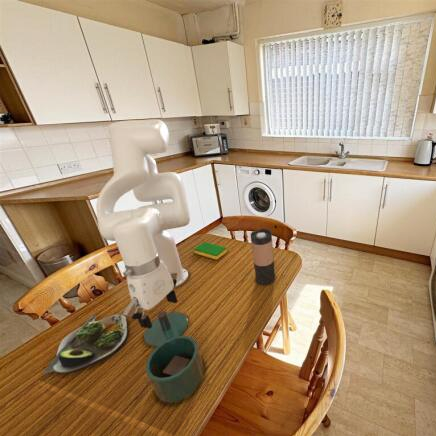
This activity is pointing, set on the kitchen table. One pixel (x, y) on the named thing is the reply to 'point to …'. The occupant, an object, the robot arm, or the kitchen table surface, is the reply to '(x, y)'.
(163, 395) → the pot
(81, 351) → the salad plate
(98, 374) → the kitchen table surface
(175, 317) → the lid
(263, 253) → the travel mug
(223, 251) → the dish sponge
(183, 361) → the block
